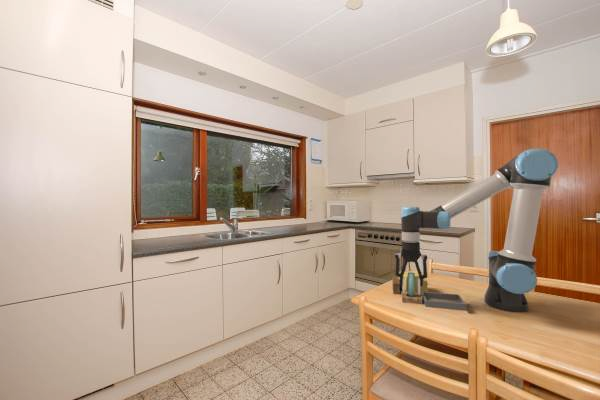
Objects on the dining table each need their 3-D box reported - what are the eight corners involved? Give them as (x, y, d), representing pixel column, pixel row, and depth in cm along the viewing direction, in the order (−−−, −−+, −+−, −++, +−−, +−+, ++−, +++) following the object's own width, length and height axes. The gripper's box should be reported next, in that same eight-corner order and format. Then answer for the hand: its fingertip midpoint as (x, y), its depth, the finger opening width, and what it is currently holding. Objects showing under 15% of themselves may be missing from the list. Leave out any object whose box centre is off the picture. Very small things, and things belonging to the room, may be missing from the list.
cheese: (428, 297, 127) (428, 276, 127) (405, 297, 128) (405, 276, 128) (419, 290, 138) (419, 270, 138) (398, 290, 138) (398, 270, 138)
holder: (419, 299, 125) (419, 293, 125) (422, 306, 117) (422, 299, 117) (401, 298, 127) (401, 291, 127) (402, 304, 119) (402, 297, 119)
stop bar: (398, 288, 140) (398, 276, 140) (399, 296, 129) (399, 283, 129) (392, 287, 141) (392, 276, 141) (393, 295, 130) (393, 283, 130)
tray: (459, 302, 120) (458, 294, 120) (466, 313, 110) (466, 304, 110) (421, 299, 125) (421, 291, 125) (425, 309, 114) (425, 300, 114)
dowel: (414, 299, 123) (414, 272, 123) (415, 301, 120) (414, 274, 120) (407, 298, 124) (407, 272, 124) (408, 300, 121) (408, 273, 121)
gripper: (432, 240, 123) (432, 291, 123) (388, 239, 128) (389, 288, 128) (435, 243, 115) (435, 297, 116) (388, 241, 121) (389, 293, 121)
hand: (411, 292), depth 122 cm, fingers open, 6 cm apart
